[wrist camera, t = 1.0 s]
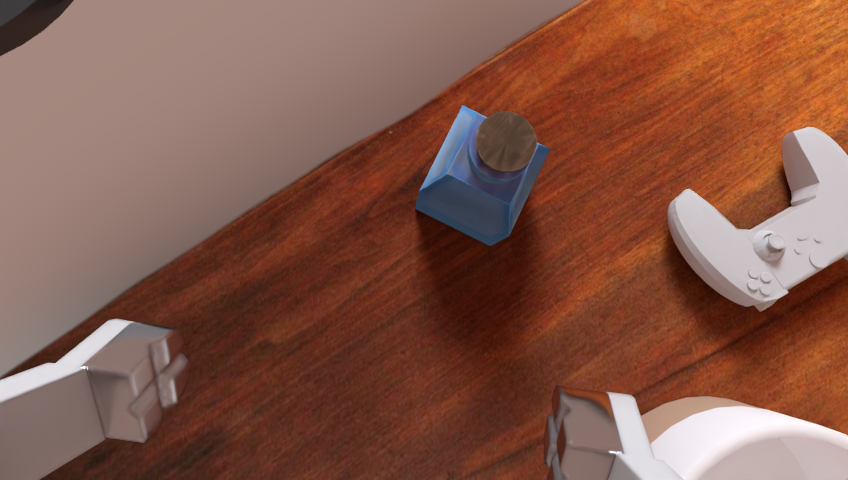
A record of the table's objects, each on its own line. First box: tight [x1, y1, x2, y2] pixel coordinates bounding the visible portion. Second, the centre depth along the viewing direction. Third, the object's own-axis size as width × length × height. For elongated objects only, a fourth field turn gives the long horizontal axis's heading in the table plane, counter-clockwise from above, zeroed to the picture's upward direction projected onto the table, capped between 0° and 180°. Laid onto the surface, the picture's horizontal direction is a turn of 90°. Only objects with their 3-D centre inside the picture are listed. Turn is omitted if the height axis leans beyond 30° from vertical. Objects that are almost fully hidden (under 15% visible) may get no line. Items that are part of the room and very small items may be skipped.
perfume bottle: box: [415, 106, 550, 246], centre depth 32 cm, size 6×6×12 cm
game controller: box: [667, 127, 848, 311], centre depth 37 cm, size 14×4×10 cm
